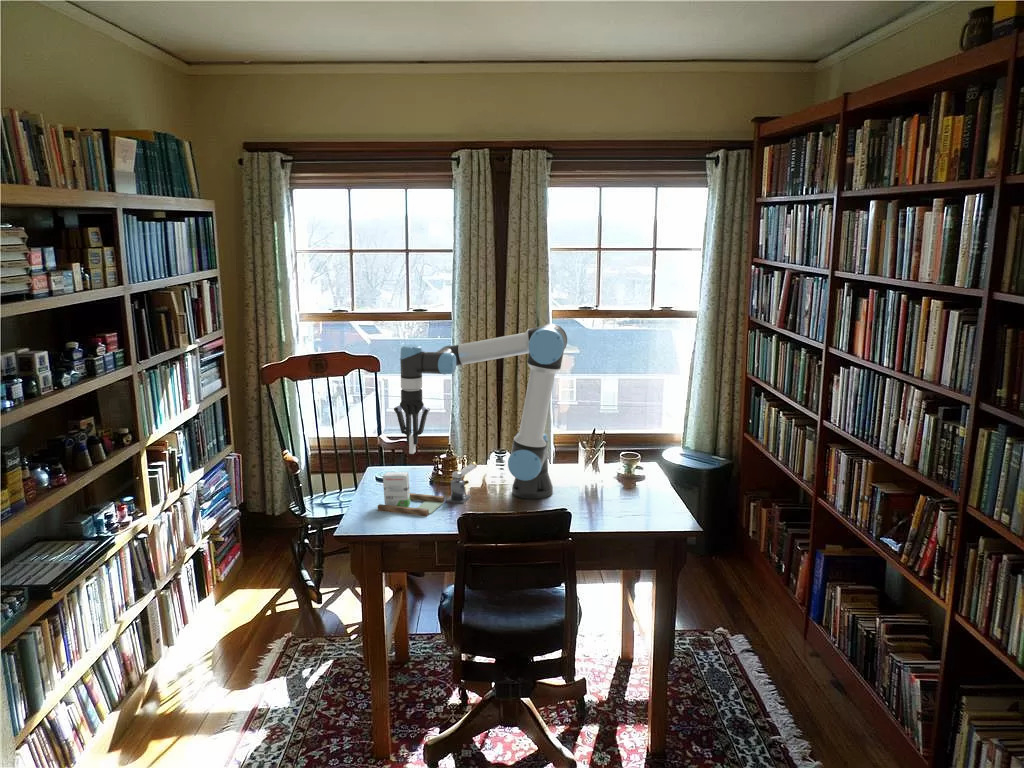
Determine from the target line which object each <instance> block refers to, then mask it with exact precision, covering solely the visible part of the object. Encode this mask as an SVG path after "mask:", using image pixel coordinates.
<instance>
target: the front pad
mask: <svg viewBox="0 0 1024 768" xmlns="http://www.w3.org/2000/svg"><path fill="white" fill-rule="evenodd" d="M443 505H444V502H443V503H442V502H432V501H423V502H422V503H421V504H419V506H417V507H416V508H421V509H429V515H432V514H433V513H434V512H435V511H437V510H438V509H439V508H441V506H443Z"/></svg>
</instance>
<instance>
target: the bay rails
mask: <svg viewBox="0 0 1024 768" xmlns="http://www.w3.org/2000/svg"><path fill="white" fill-rule="evenodd" d="M410 501H418V502H425V501H432V502H442V503H443V504H444V503H445V496H443V495H441V496H440V495H433V494H423V493H413V492H412V493H410ZM377 512H384V513H392V514H403V515H412V516H421V517H428V516H429V515H430V514H429V509H421V508H417V507H409V506H408V507H402V506H392V505H385V504H381V503H379V504H378V505H377Z"/></svg>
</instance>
